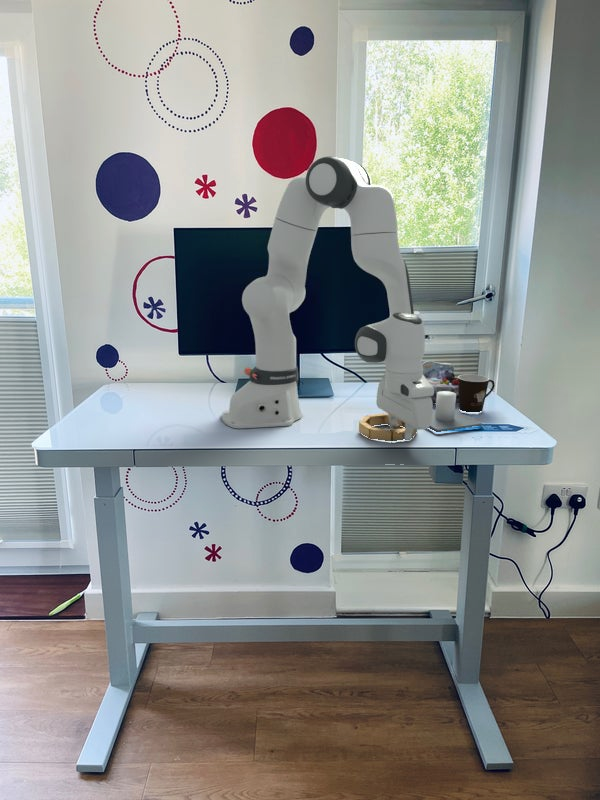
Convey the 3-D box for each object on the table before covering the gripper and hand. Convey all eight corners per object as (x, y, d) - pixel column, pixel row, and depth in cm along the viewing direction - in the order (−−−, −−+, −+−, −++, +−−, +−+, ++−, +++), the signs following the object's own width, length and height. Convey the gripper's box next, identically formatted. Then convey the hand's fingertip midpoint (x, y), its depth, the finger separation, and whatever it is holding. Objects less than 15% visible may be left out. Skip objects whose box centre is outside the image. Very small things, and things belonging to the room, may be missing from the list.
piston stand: (437, 435, 149) (439, 403, 147) (408, 419, 162) (409, 389, 159) (482, 428, 154) (485, 397, 152) (450, 413, 166) (452, 384, 164)
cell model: (449, 357, 188) (474, 373, 169) (446, 389, 192) (470, 408, 173) (410, 357, 187) (431, 374, 168) (408, 390, 190) (428, 409, 171)
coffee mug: (459, 416, 164) (462, 381, 161) (451, 406, 173) (454, 374, 170) (500, 416, 164) (504, 381, 161) (491, 407, 172) (494, 374, 170)
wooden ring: (377, 445, 142) (377, 434, 141) (351, 428, 154) (351, 417, 153) (426, 438, 147) (426, 427, 146) (397, 421, 159) (397, 411, 158)
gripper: (371, 372, 149) (369, 423, 153) (415, 393, 131) (411, 450, 134) (393, 370, 151) (390, 421, 155) (438, 390, 133) (434, 447, 137)
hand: (400, 435), depth 145 cm, fingers open, 4 cm apart
